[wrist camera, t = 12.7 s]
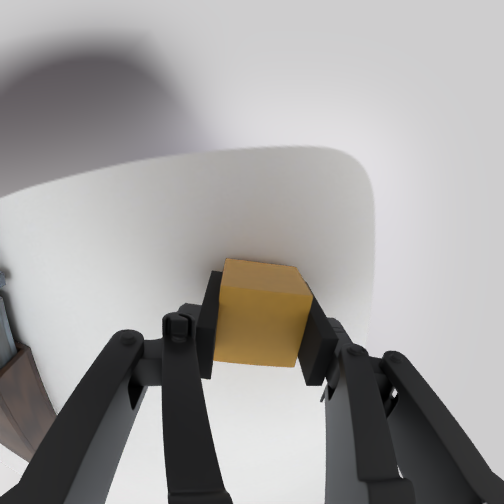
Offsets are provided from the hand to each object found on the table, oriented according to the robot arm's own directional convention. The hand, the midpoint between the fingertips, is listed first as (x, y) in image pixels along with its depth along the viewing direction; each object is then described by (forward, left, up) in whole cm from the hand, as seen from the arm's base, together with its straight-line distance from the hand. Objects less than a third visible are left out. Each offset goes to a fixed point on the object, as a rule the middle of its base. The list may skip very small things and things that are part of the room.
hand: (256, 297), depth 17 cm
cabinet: (+18, -28, -1) cm, 34 cm away
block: (0, 0, 0) cm, 0 cm away
